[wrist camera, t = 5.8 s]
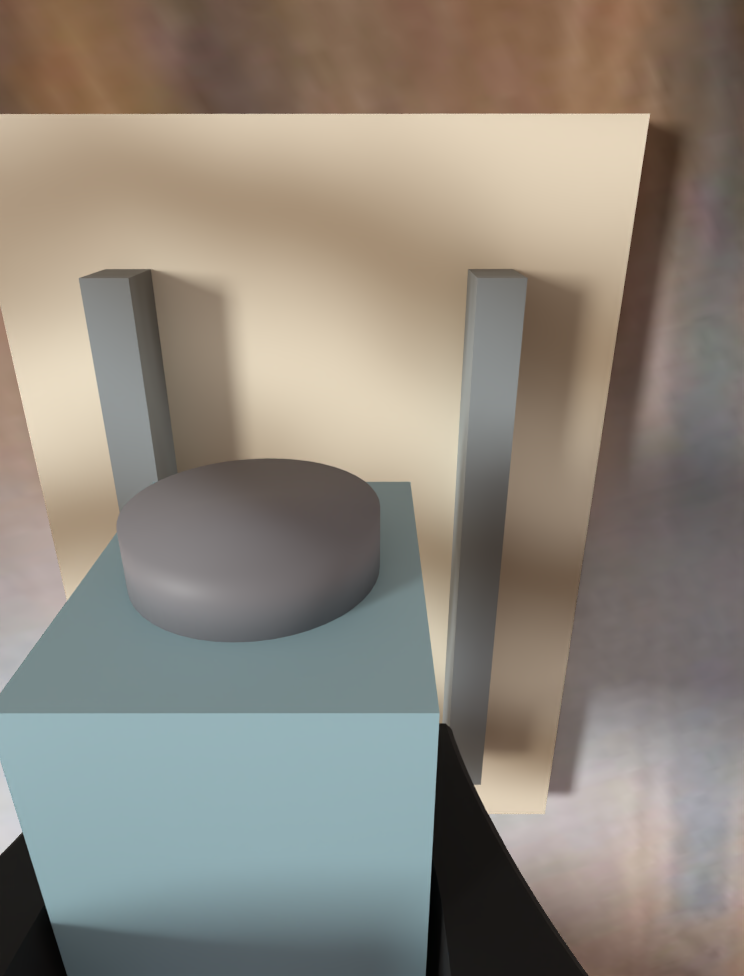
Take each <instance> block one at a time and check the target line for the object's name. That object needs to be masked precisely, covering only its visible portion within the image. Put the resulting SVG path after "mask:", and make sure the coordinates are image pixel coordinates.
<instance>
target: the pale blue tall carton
mask: <svg viewBox="0 0 744 976" xmlns="http://www.w3.org/2000/svg"><path fill="white" fill-rule="evenodd" d="M116 530H117V533H116V534H115V536H114V537H113V538H112V540H111V541H110V542H109V544H108V545H107V547H106V548H105V549H104V551H103V552H102V553H101V555H100V556H99V558H98V559H97V560H96V562H95V563H94V565H93V566H92V567H91V569H90V570H89V571H88V573H87V574H86V576H85V577H84V578H83V580H82V581H81V583H80V584H79V585H78V587H77V588H76V589H75V591H74V592H73V594H72V595H71V596H70V598H69V599H68V600H67V602H66V603H65V605H64V606H63V607H62V609H61V610H60V612H59V613H58V614H57V616H56V617H55V618H54V620H53V621H52V623H51V624H50V625H49V627H48V628H47V629H46V631H45V632H44V634H43V635H42V636H41V638H40V639H39V641H38V642H37V643H36V645H35V646H34V647H33V649H32V650H31V652H30V653H29V654H28V656H27V657H26V658H25V660H24V661H23V663H22V664H21V665H20V667H19V668H18V670H17V671H16V672H15V674H14V675H13V676H12V678H11V679H10V681H9V682H8V683H7V685H6V686H5V688H4V689H3V690H2V692H1V693H0V761H1V764H2V767H3V771H4V774H5V777H6V780H7V784H8V787H9V790H10V793H11V796H12V800H13V803H14V806H15V809H16V812H17V816H18V819H19V822H20V825H21V828H22V832H23V835H24V838H25V841H26V845H27V848H28V851H29V854H30V857H31V861H32V864H33V867H34V870H35V873H36V877H37V880H38V883H39V886H40V890H41V893H42V896H43V899H44V902H45V906H46V909H47V912H48V915H49V918H50V922H51V925H52V928H53V931H54V935H55V938H56V941H57V944H58V947H59V951H60V954H61V957H62V960H63V963H64V967H65V970H66V973H67V976H426V959H427V940H428V922H429V903H430V884H431V865H432V847H433V828H434V809H435V790H436V772H437V753H438V734H439V716H440V712H439V704H438V697H437V689H436V681H435V673H434V665H433V657H432V649H431V641H430V633H429V625H428V617H427V609H426V601H425V594H424V586H423V578H422V570H421V562H420V554H419V546H418V538H417V530H416V522H415V514H414V506H413V498H412V491H411V483H410V482H365V481H364V480H362V479H361V478H359V477H357V476H356V475H354V474H351V473H349V472H347V471H345V470H342V469H339V468H336V467H333V466H329V465H326V464H321V463H316V462H311V461H304V460H295V459H277V458H262V459H244V460H234V461H226V462H220V463H215V464H209V465H205V466H201V467H196V468H193V469H189V470H186V471H183V472H180V473H177V474H174V475H171V476H169V477H167V478H164V479H162V480H159V481H157V482H153V483H152V484H151V485H150V486H148V487H146V488H145V489H143V490H142V491H140V492H139V493H137V494H136V495H135V496H134V497H133V498H131V499H130V500H129V501H128V502H127V503H126V505H125V506H124V507H123V509H122V510H121V512H120V513H119V516H118V519H117V524H116Z"/></svg>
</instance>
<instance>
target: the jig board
mask: <svg viewBox="0 0 744 976" xmlns="http://www.w3.org/2000/svg"><path fill="white" fill-rule="evenodd" d="M649 117H650V114H0V306H1V310H2V315H3V319H4V324H5V328H6V333H7V337H8V341H9V346H10V350H11V355H12V359H13V364H14V368H15V372H16V377H17V381H18V386H19V390H20V395H21V399H22V404H23V408H24V412H25V417H26V421H27V426H28V430H29V435H30V439H31V443H32V448H33V452H34V457H35V461H36V466H37V470H38V474H39V479H40V483H41V488H42V492H43V497H44V501H45V506H46V510H47V514H48V519H49V523H50V528H51V532H52V537H53V541H54V545H55V550H56V554H57V559H58V563H59V568H60V572H61V577H62V581H63V585H64V590H65V594H66V599H67V600H68V599H69V598H70V596H71V595H72V594H73V592H74V591H75V589H76V588H77V587H78V585H79V584H80V583H81V581H82V580H83V578H84V577H85V576H86V574H87V573H88V571H89V570H90V569H91V567H92V566H93V565H94V563H95V562H96V560H97V559H98V558H99V556H100V555H101V553H102V552H103V551H104V549H105V548H106V547H107V545H108V544H109V542H110V541H111V540H112V538H113V537H114V536H115V534H116V533H117V530H116V524H117V519H118V516H119V513H120V512H121V510H122V509H123V507H124V506H125V505H126V503H127V502H128V501H129V500H130V499H131V498H133V497H134V496H135V495H136V494H137V493H139V492H140V491H142V490H143V489H145V488H146V487H148V486H150V485H151V484H152V483H153V482H157V481H159V480H162V479H164V478H167V477H169V476H171V475H174V474H177V473H180V472H183V471H186V470H189V469H193V468H196V467H201V466H205V465H209V464H215V463H220V462H226V461H234V460H244V459H262V458H277V459H295V460H304V461H311V462H316V463H321V464H326V465H329V466H333V467H336V468H339V469H342V470H345V471H347V472H349V473H351V474H354V475H356V476H357V477H359V478H361V479H362V480H364V481H365V482H410V483H411V491H412V498H413V506H414V514H415V522H416V530H417V538H418V546H419V554H420V562H421V570H422V578H423V586H424V594H425V601H426V609H427V617H428V625H429V633H430V641H431V649H432V657H433V665H434V673H435V681H436V689H437V697H438V704H439V712H440V716H439V723H446V724H447V725H448V726H449V727H450V728H451V729H452V731H453V735H454V738H455V741H456V743H457V746H458V749H459V751H460V754H461V756H462V759H463V761H464V764H465V766H466V768H467V771H468V773H469V775H470V777H471V780H472V782H473V784H474V786H475V788H476V790H477V793H478V795H479V797H480V799H481V801H482V803H483V805H484V807H485V809H486V811H487V813H488V814H545V808H546V801H547V795H548V788H549V781H550V775H551V768H552V762H553V755H554V748H555V742H556V735H557V728H558V722H559V715H560V708H561V702H562V695H563V688H564V682H565V675H566V669H567V662H568V655H569V649H570V642H571V635H572V629H573V622H574V615H575V609H576V602H577V595H578V589H579V582H580V575H581V569H582V562H583V556H584V549H585V542H586V536H587V529H588V522H589V516H590V509H591V502H592V496H593V489H594V482H595V476H596V469H597V463H598V456H599V449H600V443H601V436H602V429H603V423H604V416H605V409H606V403H607V396H608V389H609V383H610V376H611V369H612V363H613V356H614V350H615V343H616V336H617V330H618V323H619V316H620V310H621V303H622V296H623V290H624V283H625V276H626V270H627V263H628V257H629V250H630V243H631V237H632V230H633V223H634V217H635V210H636V203H637V197H638V190H639V183H640V177H641V170H642V163H643V157H644V150H645V144H646V137H647V130H648V124H649Z"/></svg>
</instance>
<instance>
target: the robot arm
mask: <svg viewBox="0 0 744 976" xmlns="http://www.w3.org/2000/svg"><path fill="white" fill-rule="evenodd" d="M0 976H67V973H66V970H65V967H64V963H63V960H62V957H61V954H60V951H59V947H58V944H57V941H56V938H55V935H54V931H53V928H52V925H51V922H50V918H49V915H48V912H47V909H46V906H45V902H44V899H43V896H42V893H41V890H40V886H39V883H38V880H37V877H36V873H35V870H34V867H33V864H32V861H31V857H30V854H29V851H28V848H27V845H26V841H25V838H24V835H23V832H22V833H21V834H20V835H19V836H18V837H17V838H16V840H15V841H14V842H13V843H12V844H11V845H10V846H9V847H8V848H7V849H6V850H5V851H4V852H3V853H2V854H1V855H0ZM426 976H588V974H587V973H586V972H585V970H584V969H583V968H582V966H581V965H580V963H579V962H578V960H577V959H576V958H575V956H574V955H573V953H572V952H571V950H570V949H569V947H568V946H567V945H566V943H565V942H564V940H563V939H562V937H561V936H560V934H559V933H558V931H557V930H556V928H555V927H554V925H553V924H552V922H551V921H550V919H549V918H548V916H547V915H546V913H545V912H544V910H543V908H542V907H541V905H540V904H539V902H538V901H537V899H536V897H535V896H534V894H533V892H532V891H531V889H530V887H529V886H528V884H527V882H526V881H525V879H524V878H523V876H522V874H521V873H520V871H519V869H518V868H517V866H516V864H515V862H514V861H513V859H512V857H511V855H510V854H509V852H508V850H507V848H506V846H505V845H504V843H503V841H502V839H501V837H500V835H499V833H498V832H497V830H496V828H495V826H494V824H493V822H492V820H491V818H490V817H489V815H488V813H487V811H486V809H485V807H484V805H483V803H482V801H481V799H480V797H479V795H478V793H477V790H476V788H475V786H474V784H473V782H472V780H471V777H470V775H469V773H468V771H467V768H466V766H465V764H464V761H463V759H462V756H461V754H460V751H459V749H458V746H457V743H456V741H455V738H454V735H453V731H452V729H451V728H450V727H449V726H448V725H447V724H446V723H439V734H438V753H437V772H436V790H435V809H434V828H433V847H432V865H431V884H430V903H429V922H428V940H427V959H426Z"/></svg>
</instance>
